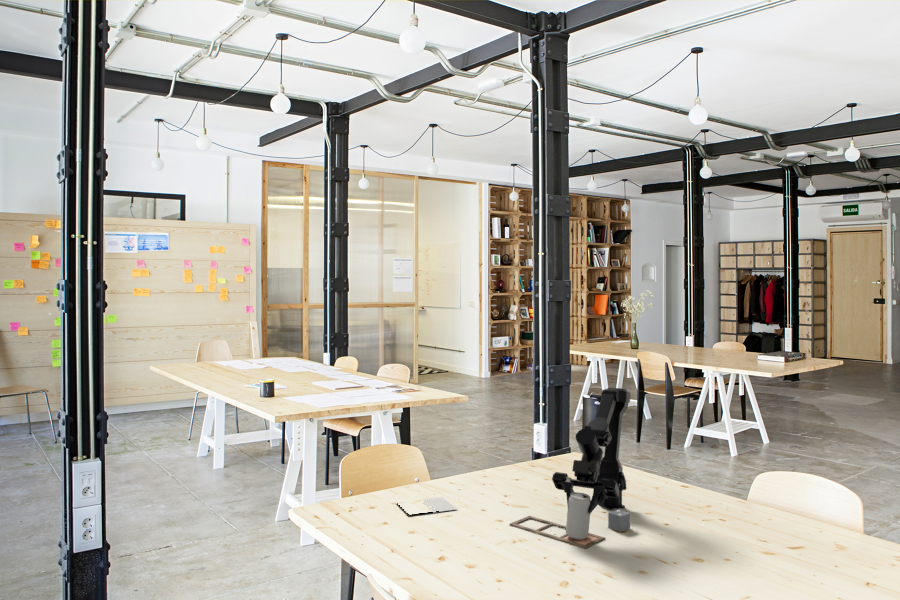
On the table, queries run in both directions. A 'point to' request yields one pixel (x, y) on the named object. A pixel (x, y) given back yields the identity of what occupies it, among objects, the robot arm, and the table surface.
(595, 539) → the brown divided frame
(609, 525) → the grey cube
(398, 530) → the table surface
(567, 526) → the beverage can
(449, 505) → the paper stack
